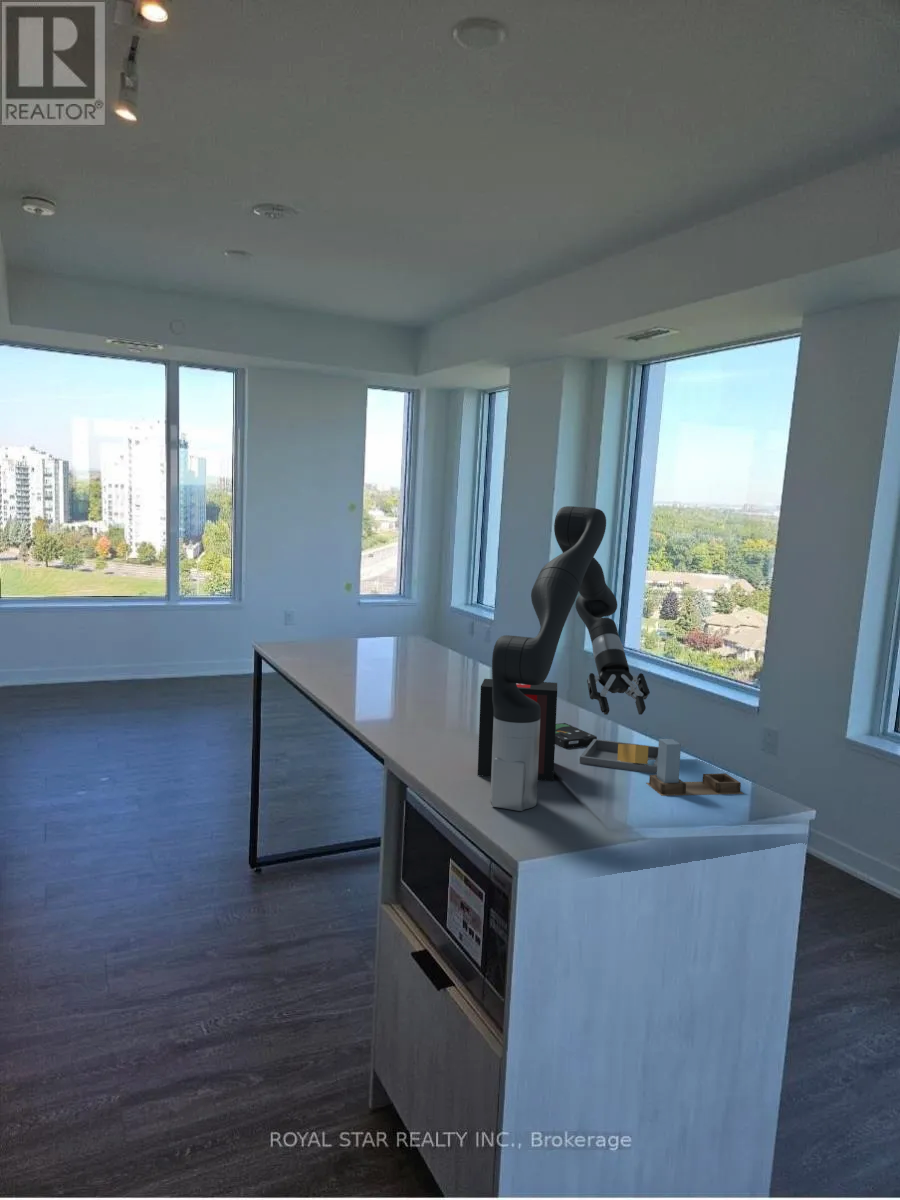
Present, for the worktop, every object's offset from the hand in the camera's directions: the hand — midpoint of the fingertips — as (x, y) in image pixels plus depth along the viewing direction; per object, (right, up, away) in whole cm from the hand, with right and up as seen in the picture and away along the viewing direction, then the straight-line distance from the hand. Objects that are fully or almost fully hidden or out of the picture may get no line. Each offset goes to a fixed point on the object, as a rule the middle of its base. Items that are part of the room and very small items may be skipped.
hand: (624, 712), depth 182 cm
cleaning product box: (-26, -12, -8) cm, 30 cm away
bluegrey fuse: (+4, -13, -21) cm, 25 cm away
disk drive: (-11, -11, +21) cm, 26 cm away
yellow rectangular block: (0, -9, 0) cm, 9 cm away
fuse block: (+10, -14, -20) cm, 26 cm away
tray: (0, -12, 0) cm, 12 cm away
